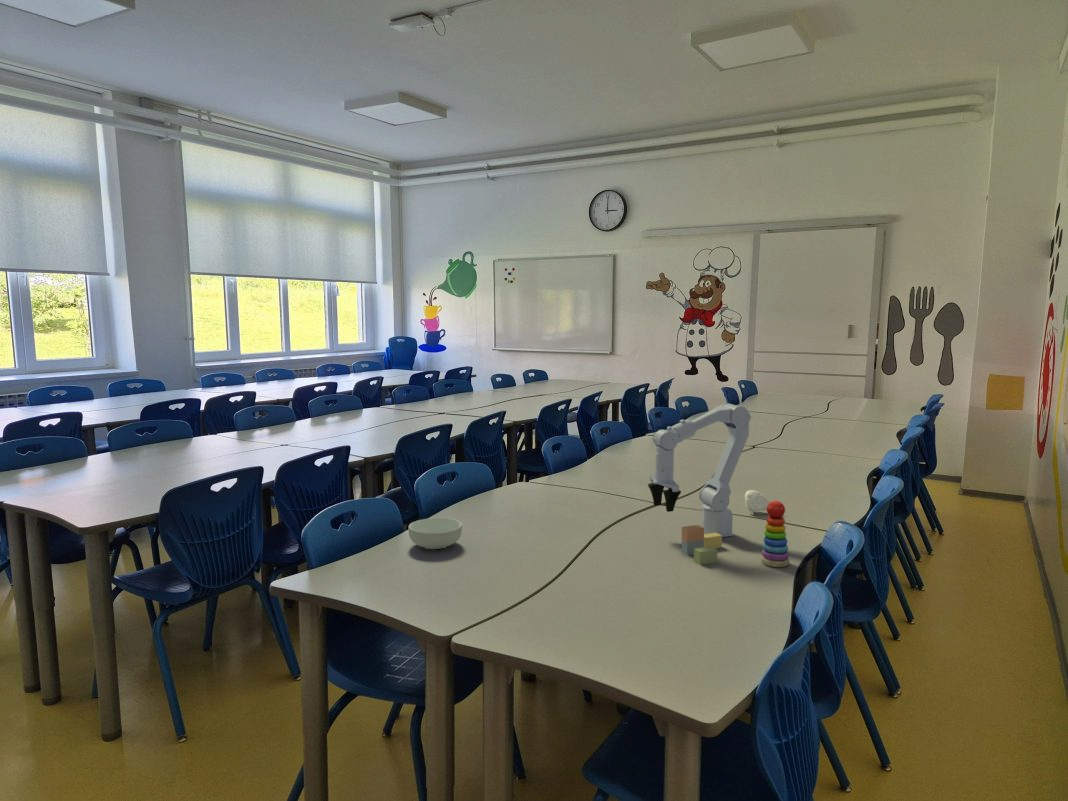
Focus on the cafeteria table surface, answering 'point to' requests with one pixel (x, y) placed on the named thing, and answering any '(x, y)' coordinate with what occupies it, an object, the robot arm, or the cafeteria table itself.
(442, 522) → the cereal bowl
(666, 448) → the robot arm
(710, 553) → the olive brick
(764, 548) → the stacking toy
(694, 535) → the terracotta brick
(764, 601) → the cafeteria table surface
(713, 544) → the mustard brick
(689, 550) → the slate brick
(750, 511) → the white textured lump
